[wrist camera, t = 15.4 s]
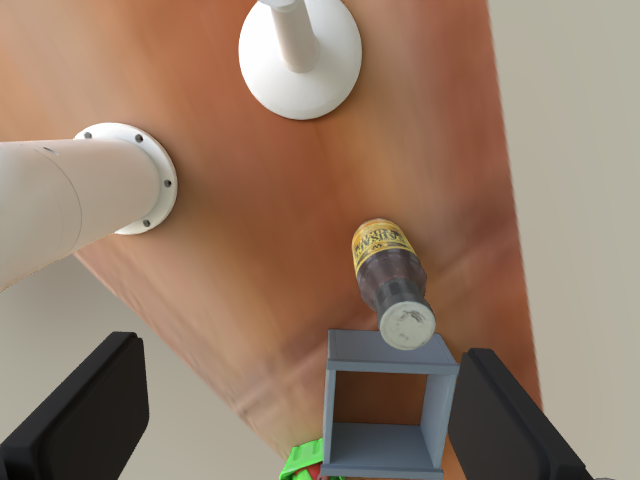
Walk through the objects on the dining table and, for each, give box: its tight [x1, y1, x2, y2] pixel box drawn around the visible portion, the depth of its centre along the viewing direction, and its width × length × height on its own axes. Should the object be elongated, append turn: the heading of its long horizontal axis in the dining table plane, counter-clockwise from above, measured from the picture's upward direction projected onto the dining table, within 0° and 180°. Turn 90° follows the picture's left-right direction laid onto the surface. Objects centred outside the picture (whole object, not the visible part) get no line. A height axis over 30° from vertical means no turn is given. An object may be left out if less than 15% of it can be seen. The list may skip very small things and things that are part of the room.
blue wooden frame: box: [320, 329, 460, 480], centre depth 47 cm, size 15×16×8 cm
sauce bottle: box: [352, 218, 436, 350], centre depth 35 cm, size 7×6×20 cm
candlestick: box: [239, 0, 362, 120], centre depth 25 cm, size 13×13×30 cm
